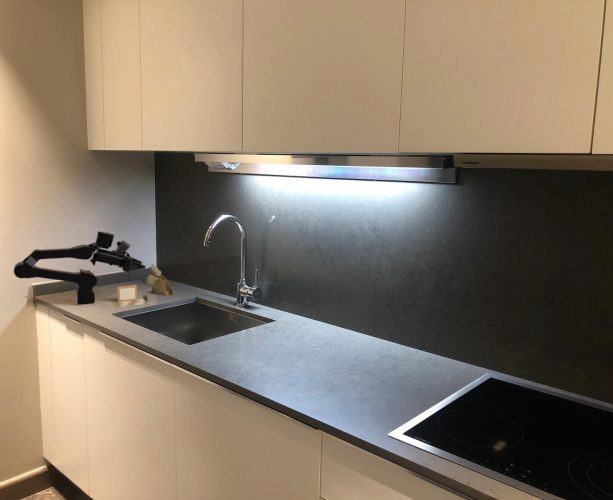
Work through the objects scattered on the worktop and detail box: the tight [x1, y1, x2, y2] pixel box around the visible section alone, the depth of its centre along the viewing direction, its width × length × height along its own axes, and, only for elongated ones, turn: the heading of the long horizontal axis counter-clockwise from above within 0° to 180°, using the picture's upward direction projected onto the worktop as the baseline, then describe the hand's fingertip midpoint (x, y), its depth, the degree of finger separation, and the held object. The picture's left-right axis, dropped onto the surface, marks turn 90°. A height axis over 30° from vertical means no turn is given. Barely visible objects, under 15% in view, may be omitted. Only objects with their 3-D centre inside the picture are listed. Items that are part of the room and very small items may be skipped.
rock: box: [151, 275, 175, 296], centre depth 258 cm, size 11×9×10 cm
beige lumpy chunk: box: [144, 264, 163, 285], centre depth 279 cm, size 6×8×10 cm
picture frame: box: [116, 284, 138, 302], centre depth 242 cm, size 8×2×7 cm, turn 115°
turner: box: [143, 294, 153, 305], centre depth 244 cm, size 3×11×1 cm, turn 25°
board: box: [111, 297, 153, 308], centre depth 241 cm, size 16×10×1 cm, turn 115°
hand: (143, 265), depth 248 cm, fingers open, 9 cm apart
